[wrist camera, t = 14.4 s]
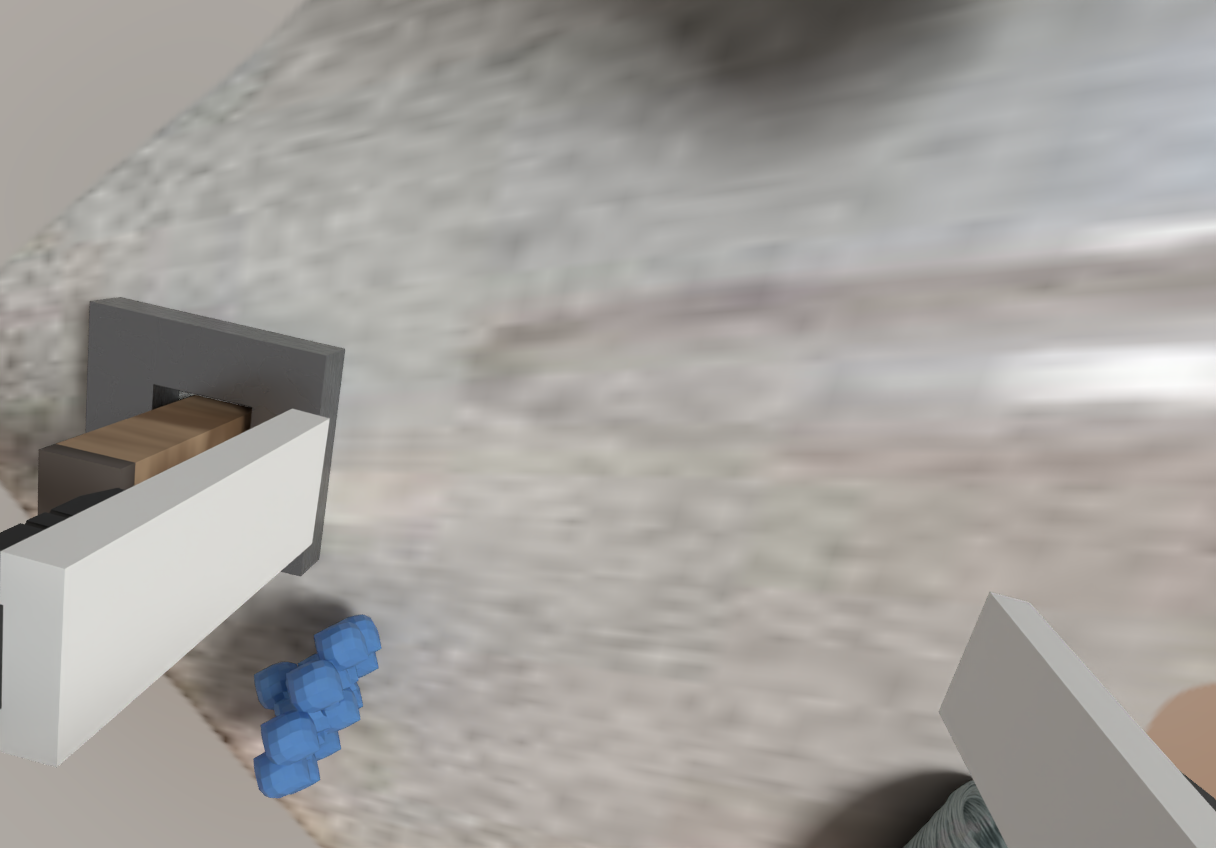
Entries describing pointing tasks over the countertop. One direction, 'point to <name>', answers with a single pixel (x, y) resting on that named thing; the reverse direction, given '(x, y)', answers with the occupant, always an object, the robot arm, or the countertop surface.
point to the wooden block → (135, 448)
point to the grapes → (312, 705)
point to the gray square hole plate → (208, 374)
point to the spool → (960, 823)
